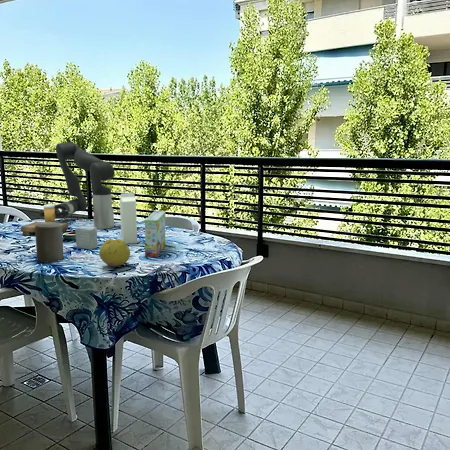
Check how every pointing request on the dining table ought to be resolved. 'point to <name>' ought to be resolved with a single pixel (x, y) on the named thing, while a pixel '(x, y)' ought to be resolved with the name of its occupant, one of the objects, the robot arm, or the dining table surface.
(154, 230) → the snack box
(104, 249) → the fruit
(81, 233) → the medicine box
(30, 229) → the walnut stand
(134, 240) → the milk
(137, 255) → the dining table surface
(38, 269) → the dining table surface
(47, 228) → the pillar candle
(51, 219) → the beer glass
